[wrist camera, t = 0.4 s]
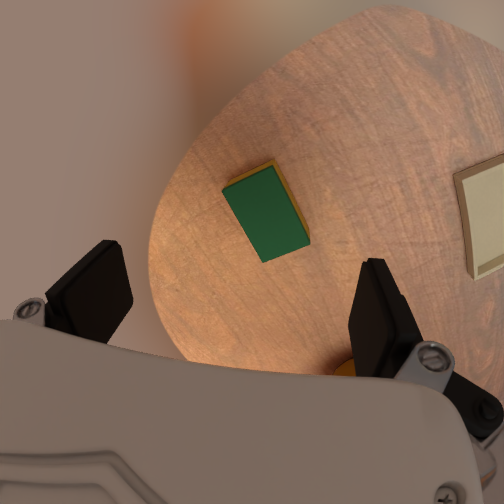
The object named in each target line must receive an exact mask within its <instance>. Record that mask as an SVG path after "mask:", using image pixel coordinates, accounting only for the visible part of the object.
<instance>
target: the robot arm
mask: <svg viewBox="0 0 504 504" xmlns="http://www.w3.org/2000/svg"><path fill="white" fill-rule="evenodd" d="M45 295H46V298H47V300H48V302H47V303H46V304H45V302H44V301H43V299H41V298H30V299H28V300H25V301H24V302H22V303H21V304H20V305H19V306H17V308H16V309H15V311H14V315H13V320H0V504H504V421H503V419H504V410H503V407H502V405H501V403H500V402H499V400H498V399H497V398H496V397H494V396H493V395H491V394H490V393H488V392H487V391H485V390H483V389H482V388H480V387H478V386H477V385H475V384H474V383H472V382H470V381H469V380H467V379H465V378H464V377H462V376H461V375H459V374H457V373H456V372H454V371H453V369H454V366H455V360H454V356H453V355H452V353H451V351H450V350H449V349H448V348H447V347H445V346H444V345H442V344H440V343H438V342H435V341H424V340H423V338H422V335H421V333H420V331H419V328H418V326H417V323H416V321H415V319H414V317H413V314H412V312H411V310H410V307H409V305H408V303H407V301H406V299H405V297H404V295H401V294H400V291H399V289H398V287H397V285H396V283H395V281H394V278H393V276H392V274H391V272H390V270H389V268H388V266H387V264H386V262H385V260H384V259H378V258H368V260H367V262H364V261H363V263H362V266H361V271H360V275H359V280H358V284H357V288H356V293H355V297H354V301H353V305H352V309H351V313H350V317H349V321H348V329H349V335H350V341H351V347H352V353H353V359H354V366H355V373H356V377H354V376H334V375H310V374H294V373H281V372H269V371H259V370H249V369H241V368H232V367H225V366H218V365H211V364H204V363H197V362H191V361H185V360H179V359H174V358H168V357H163V356H158V355H153V354H148V353H143V352H138V351H133V350H129V349H125V348H120V347H116V346H112V345H108V344H107V342H108V341H109V339H110V338H111V336H112V335H113V333H114V332H115V331H116V329H117V328H118V326H119V325H120V323H121V322H122V320H123V319H124V317H125V316H126V314H127V313H128V311H129V310H130V309H131V307H132V305H133V296H132V292H131V288H130V284H129V280H128V275H127V271H126V266H125V262H124V257H123V252H122V248H121V246H120V245H119V244H118V242H117V241H114V240H103V241H101V242H100V243H99V244H98V245H96V246H95V247H94V248H93V249H92V250H91V251H89V252H88V253H87V254H86V255H85V256H84V257H83V258H82V259H81V260H79V261H78V262H77V263H76V264H75V265H74V266H73V267H72V268H71V269H70V270H69V271H67V272H66V273H65V274H64V275H63V276H62V277H61V278H60V279H59V280H58V281H57V282H56V283H55V284H54V285H53V286H52V287H51V288H50V289H49V290H48V291H47V292H46V293H45Z"/></svg>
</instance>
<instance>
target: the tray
mask: <svg viewBox="0 0 504 504" xmlns="http://www.w3.org/2000/svg"><path fill="white" fill-rule="evenodd" d="M453 177H454V181H455V186H456V191H457V196H458V201H459V206H460V212H461V218H462V224H463V231H464V239H465V247H466V257H467V269H468V273H469V274H470V276H471V277H472V279H473V280H474V281H476V280H478V279H480V278H482V277H484V276H486V275H488V274H490V273H492V272H494V271H496V270H498V269H500V268H502V267H504V154H502V155H500V156H497V157H495V158H493V159H490V160H488V161H485V162H483V163H480V164H478V165H475V166H473V167H471V168H468V169H466V170H463V171H461V172H458V173H456V174H453Z"/></svg>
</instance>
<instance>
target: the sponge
mask: <svg viewBox="0 0 504 504" xmlns="http://www.w3.org/2000/svg"><path fill="white" fill-rule="evenodd" d="M222 193H223V195H224V197H225V198H226V200H227V202H228V204H229V205H230V207H231V209H232V210H233V212H234V214H235V216H236V217H237V219H238V221H239V223H240V224H241V226H242V228H243V230H244V231H245V233H246V235H247V237H248V238H249V240H250V242H251V244H252V245H253V247H254V249H255V250H256V252H257V254H258V256H259V257H260V259H261V261H262V263H264V262H267V261H269V260H272V259H274V258H277V257H279V256H282V255H285V254H287V253H290V252H292V251H295V250H297V249H300V248H302V247H305V246H307V245H310V234H309V228H308V225H307V223H306V221H305V219H304V217H303V215H302V213H301V211H300V209H299V207H298V205H297V203H296V200H295V198H294V196H293V194H292V192H291V190H290V188H289V186H288V184H287V182H286V180H285V178H284V176H283V174H282V172H281V171H280V169H279V167H278V165H277V163H276V161H275V159H273V160H271V161H269V162H267V163H265V164H263V165H260V166H258V167H256V168H254V169H252V170H250V171H248V172H246V173H244V174H242V175H240V176H238V177H236V178H234V179H232V180H230V181H229V182H228V183H227V185H226V186H225V187H224V189H223V190H222Z"/></svg>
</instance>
